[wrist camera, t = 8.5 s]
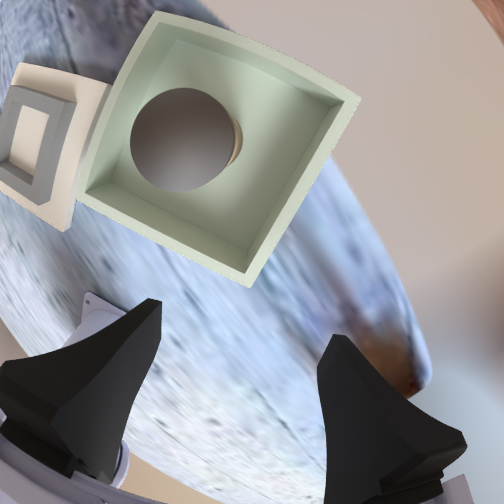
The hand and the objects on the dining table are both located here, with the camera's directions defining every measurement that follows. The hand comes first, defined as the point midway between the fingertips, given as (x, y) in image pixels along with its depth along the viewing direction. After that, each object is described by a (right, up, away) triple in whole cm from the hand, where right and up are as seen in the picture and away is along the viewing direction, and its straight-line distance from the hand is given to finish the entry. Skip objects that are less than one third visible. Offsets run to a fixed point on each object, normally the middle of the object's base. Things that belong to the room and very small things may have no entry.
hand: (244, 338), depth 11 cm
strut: (-2, +10, +5) cm, 12 cm away
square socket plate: (-17, +13, +5) cm, 22 cm away
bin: (-2, +11, +6) cm, 12 cm away
